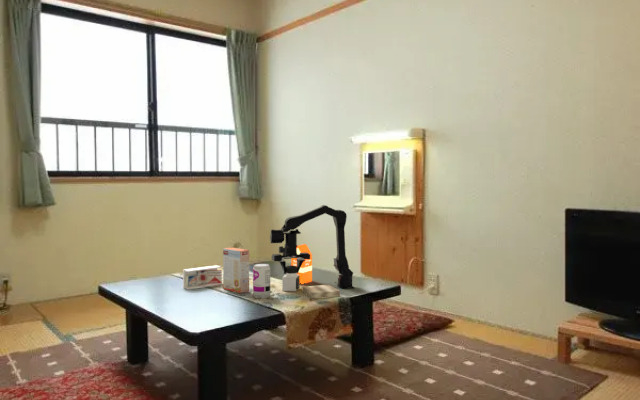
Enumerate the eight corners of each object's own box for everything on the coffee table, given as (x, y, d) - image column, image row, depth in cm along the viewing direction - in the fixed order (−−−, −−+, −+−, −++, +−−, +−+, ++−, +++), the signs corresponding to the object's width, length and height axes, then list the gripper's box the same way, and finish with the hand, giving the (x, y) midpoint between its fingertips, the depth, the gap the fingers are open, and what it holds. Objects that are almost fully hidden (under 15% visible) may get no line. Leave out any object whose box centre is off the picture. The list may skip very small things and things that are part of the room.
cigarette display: (187, 289, 248) (187, 271, 247) (183, 287, 252) (182, 269, 252) (223, 284, 260) (223, 266, 260) (218, 282, 265) (218, 264, 264)
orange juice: (312, 281, 268) (312, 244, 267) (303, 284, 260) (303, 246, 259) (300, 279, 272) (300, 243, 271) (291, 282, 265) (291, 245, 264)
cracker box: (250, 291, 243) (249, 249, 242) (240, 293, 239) (239, 250, 238) (232, 287, 253) (232, 246, 252) (222, 289, 248) (222, 247, 247)
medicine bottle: (296, 291, 243) (296, 267, 243) (282, 290, 245) (282, 266, 244) (299, 288, 250) (299, 264, 250) (286, 287, 252) (286, 264, 251)
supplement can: (256, 299, 228) (256, 267, 228) (250, 295, 236) (250, 264, 235) (273, 297, 232) (272, 265, 231) (266, 293, 239) (266, 262, 239)
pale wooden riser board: (328, 289, 248) (328, 284, 248) (339, 296, 235) (339, 290, 235) (302, 291, 243) (302, 286, 243) (312, 298, 230) (312, 293, 230)
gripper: (303, 239, 257) (303, 269, 258) (268, 241, 250) (268, 272, 251) (310, 242, 247) (310, 273, 247) (274, 244, 240) (274, 276, 241)
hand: (291, 273), depth 247 cm, fingers closed on medicine bottle, 6 cm apart
